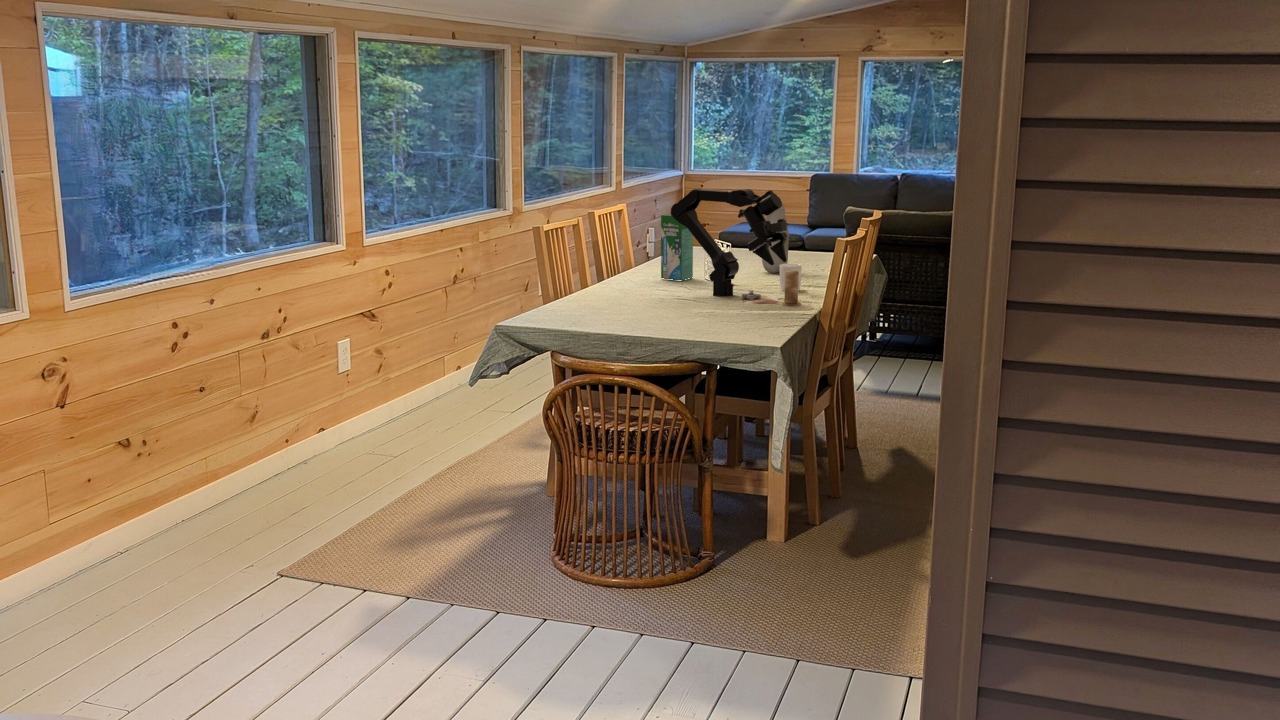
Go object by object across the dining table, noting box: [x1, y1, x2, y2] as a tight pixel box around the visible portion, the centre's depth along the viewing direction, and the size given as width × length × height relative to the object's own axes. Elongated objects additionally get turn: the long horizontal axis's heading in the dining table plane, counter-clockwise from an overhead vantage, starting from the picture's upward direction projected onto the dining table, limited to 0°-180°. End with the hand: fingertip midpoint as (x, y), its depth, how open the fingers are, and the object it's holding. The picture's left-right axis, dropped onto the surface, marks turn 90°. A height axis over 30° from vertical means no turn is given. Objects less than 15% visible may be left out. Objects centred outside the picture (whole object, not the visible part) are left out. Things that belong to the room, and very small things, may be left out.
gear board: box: [741, 296, 780, 305], centre depth 381 cm, size 12×14×1 cm
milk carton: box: [660, 214, 694, 281], centre depth 432 cm, size 9×9×25 cm
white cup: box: [779, 262, 803, 292], centre depth 401 cm, size 8×8×10 cm
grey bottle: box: [761, 203, 790, 274], centre depth 446 cm, size 10×10×28 cm
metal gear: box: [741, 289, 762, 300], centre depth 383 cm, size 6×7×3 cm
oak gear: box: [780, 271, 801, 307], centre depth 372 cm, size 6×6×12 cm
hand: (779, 263), depth 378 cm, fingers open, 9 cm apart
